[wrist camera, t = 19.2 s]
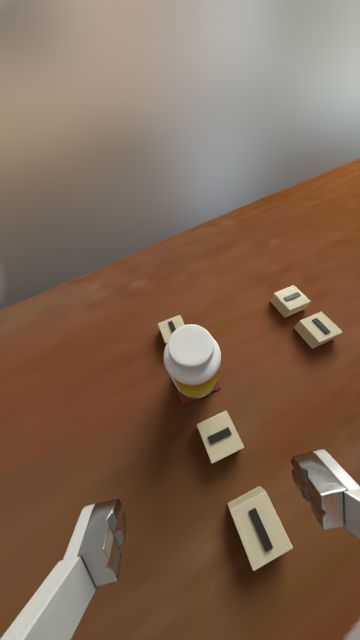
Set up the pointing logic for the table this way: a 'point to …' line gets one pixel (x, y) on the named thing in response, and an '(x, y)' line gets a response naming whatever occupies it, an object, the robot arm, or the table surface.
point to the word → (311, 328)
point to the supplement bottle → (192, 360)
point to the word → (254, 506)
